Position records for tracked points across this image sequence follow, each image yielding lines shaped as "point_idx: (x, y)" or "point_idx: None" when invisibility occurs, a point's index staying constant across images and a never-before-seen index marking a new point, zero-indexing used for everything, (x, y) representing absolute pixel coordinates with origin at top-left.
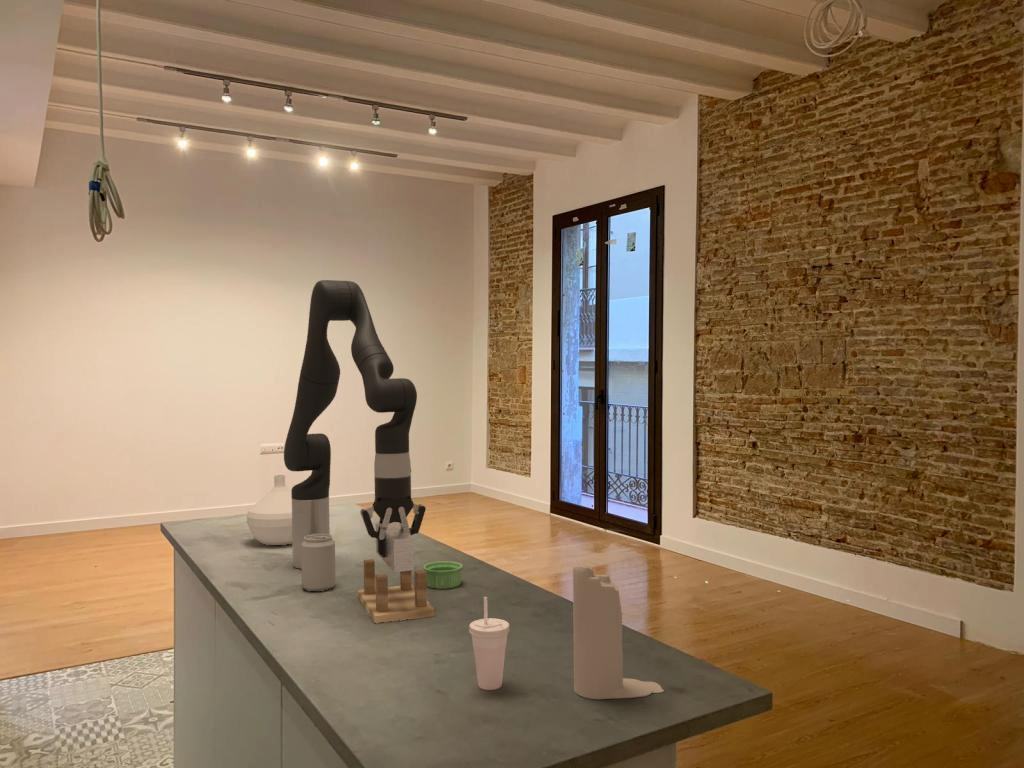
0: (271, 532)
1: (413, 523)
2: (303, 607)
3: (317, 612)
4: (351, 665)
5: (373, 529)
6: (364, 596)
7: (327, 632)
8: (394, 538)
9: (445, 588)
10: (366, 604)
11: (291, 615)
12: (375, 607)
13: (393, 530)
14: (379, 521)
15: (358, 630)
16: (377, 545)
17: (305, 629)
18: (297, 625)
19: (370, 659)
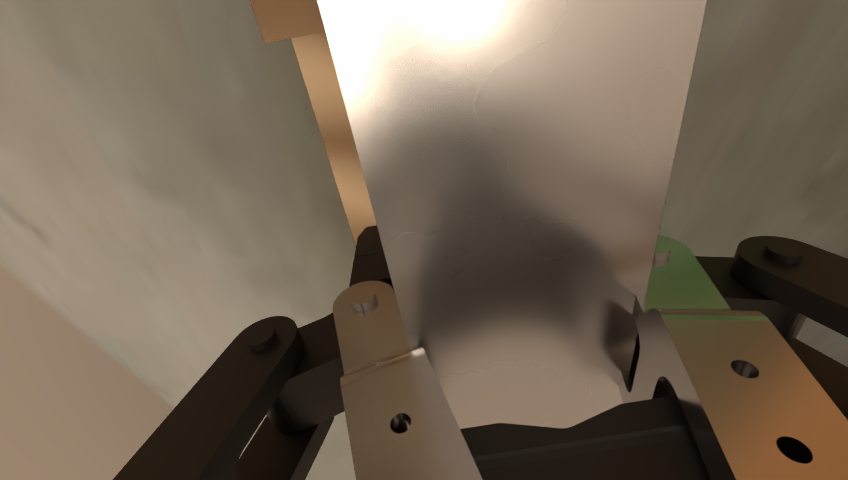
0: None
1: (839, 326)
2: (42, 50)
3: (143, 137)
4: (339, 448)
5: (299, 472)
6: (309, 62)
7: (248, 315)
8: None
9: None
10: (331, 162)
11: (50, 153)
12: (367, 218)
13: (517, 380)
14: (351, 430)
15: (330, 313)
16: (353, 262)
17: (175, 288)
18: (132, 255)
19: None
